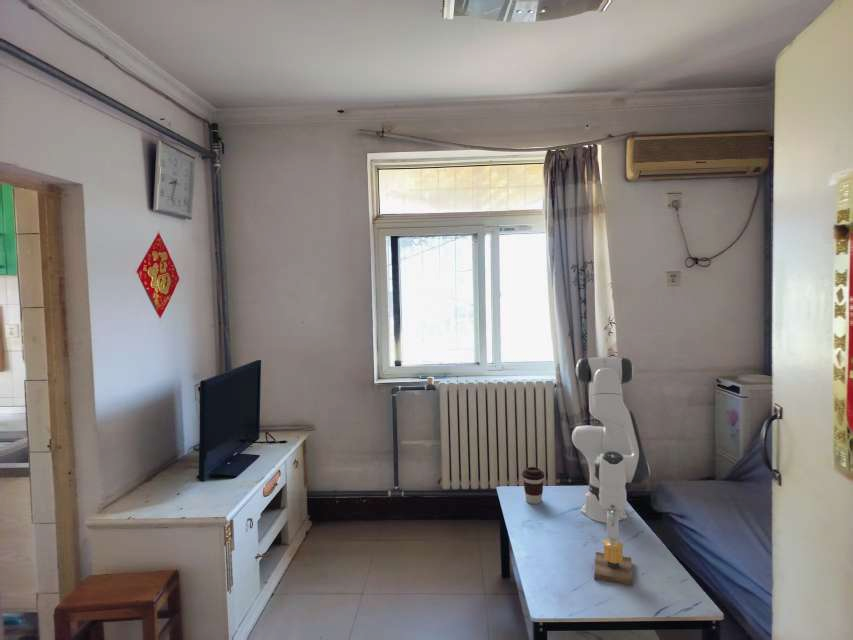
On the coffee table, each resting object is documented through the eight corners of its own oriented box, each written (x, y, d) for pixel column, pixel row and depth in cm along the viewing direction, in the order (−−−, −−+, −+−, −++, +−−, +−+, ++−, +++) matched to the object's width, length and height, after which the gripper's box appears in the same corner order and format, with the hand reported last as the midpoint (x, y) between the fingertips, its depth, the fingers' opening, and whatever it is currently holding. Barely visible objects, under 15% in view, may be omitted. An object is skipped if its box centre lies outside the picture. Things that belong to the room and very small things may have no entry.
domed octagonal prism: (603, 551, 171) (603, 538, 171) (622, 554, 169) (622, 541, 168) (603, 561, 165) (603, 547, 165) (622, 564, 163) (622, 550, 163)
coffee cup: (540, 507, 216) (539, 475, 215) (519, 502, 221) (519, 471, 220) (547, 498, 224) (547, 467, 223) (527, 494, 230) (526, 464, 228)
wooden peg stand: (595, 557, 176) (595, 533, 175) (631, 562, 172) (631, 538, 171) (594, 579, 163) (594, 554, 162) (632, 586, 159) (632, 560, 158)
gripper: (623, 515, 155) (623, 555, 156) (622, 488, 174) (622, 524, 175) (602, 512, 157) (602, 552, 158) (603, 486, 176) (604, 521, 177)
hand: (613, 537), depth 167 cm, fingers open, 8 cm apart
